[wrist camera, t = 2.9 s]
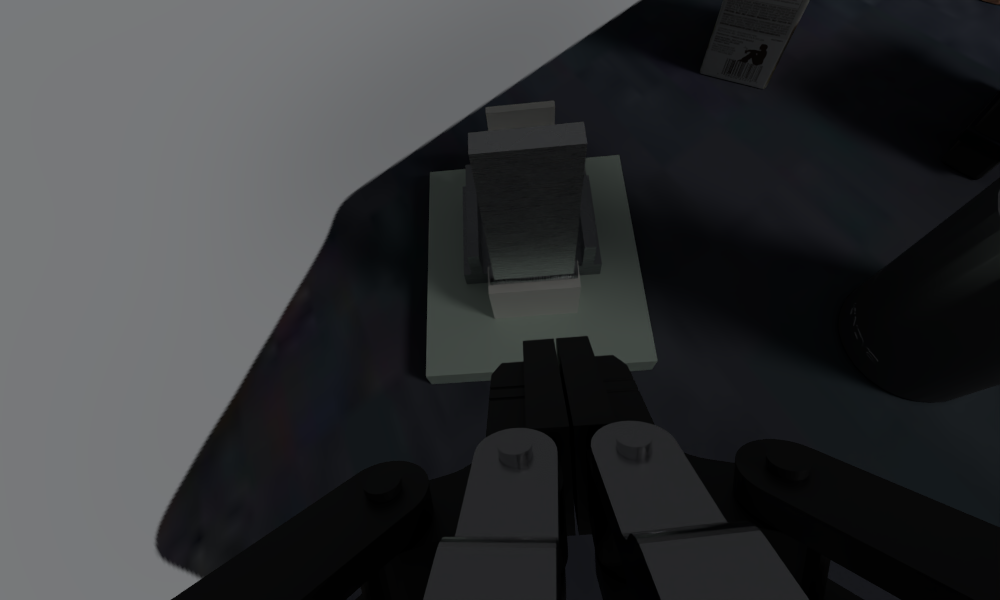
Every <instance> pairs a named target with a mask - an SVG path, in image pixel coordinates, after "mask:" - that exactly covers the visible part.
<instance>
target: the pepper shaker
mask: <svg viewBox="0 0 1000 600" xmlns="http://www.w3.org/2000/svg"><path fill="white" fill-rule="evenodd" d="M982 1H985V2H989V3H993V4H1000V0H982Z"/></svg>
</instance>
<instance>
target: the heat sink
mask: <svg viewBox="0 0 1000 600" xmlns="http://www.w3.org/2000/svg"><path fill="white" fill-rule="evenodd" d="M465 170H466V186H463V250H464V277H465V280H466V283H467V284H477V283H488V267H489V264H491V261H490V256H489V251H488V247H487V242H486V237H485V232H484V227H483V222H482V217H481V213H480V208H479V203H478V198H477V193H476V188H475V184H474V179H473V174H472V169H471V165H465ZM575 257H577V260H578V267H579V275H592V274H600V271H601V266H602V261H601V255H600V248H599V241H598V234H597V228H596V221H595V214H594V208H593V201H592V194H591V188H590V181H589V175H586V171H585V169H584V178H583V188H582V197H581V207H580V216H579V226H578V235H577V245H576V255H575Z"/></svg>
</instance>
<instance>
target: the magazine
mask: <svg viewBox="0 0 1000 600" xmlns="http://www.w3.org/2000/svg"><path fill="white" fill-rule="evenodd" d="M957 140H958V141H957V142H956V143H955V144H954V146H953V147H952V148H951V149H950V150H949V151H948V152H947V153H946V154H945V155H944V157H943V159H942V162H943V163H945V164H947V165H948V166H950V167H952V168H954V169H956V170H958V171H960V172H961V173H963V174H965V175H967V176H969V177H971V178H973V179H976V180H977V179H979V178H982V177H983V176H984V175H985V174H987V173H988V172H989V171H990V170H992V169H993V168H994V167H995V166H996V165H998V164H999V163H1000V91H999V92H998V93H997V94H996V95H995V96H994V97H993V98H992V99H991V101H990V102H989V103H988V104H987V105H986V106H985V107H984V108H983V109H982V111H981V112H980V113H979V114H978V115H977V116H976V117H975V118H974V119H973V121H972V122H971V123H970V124H969V125H968V126H967V127H966V128H965V129H964V131H963V132H962V133H961V134H960V135H959V136H958V137H957Z"/></svg>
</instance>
